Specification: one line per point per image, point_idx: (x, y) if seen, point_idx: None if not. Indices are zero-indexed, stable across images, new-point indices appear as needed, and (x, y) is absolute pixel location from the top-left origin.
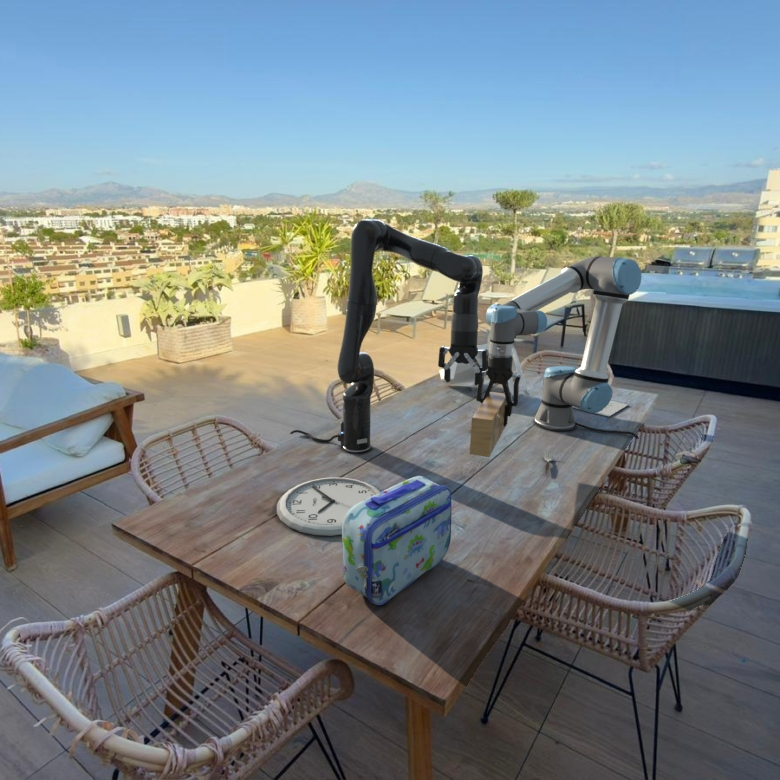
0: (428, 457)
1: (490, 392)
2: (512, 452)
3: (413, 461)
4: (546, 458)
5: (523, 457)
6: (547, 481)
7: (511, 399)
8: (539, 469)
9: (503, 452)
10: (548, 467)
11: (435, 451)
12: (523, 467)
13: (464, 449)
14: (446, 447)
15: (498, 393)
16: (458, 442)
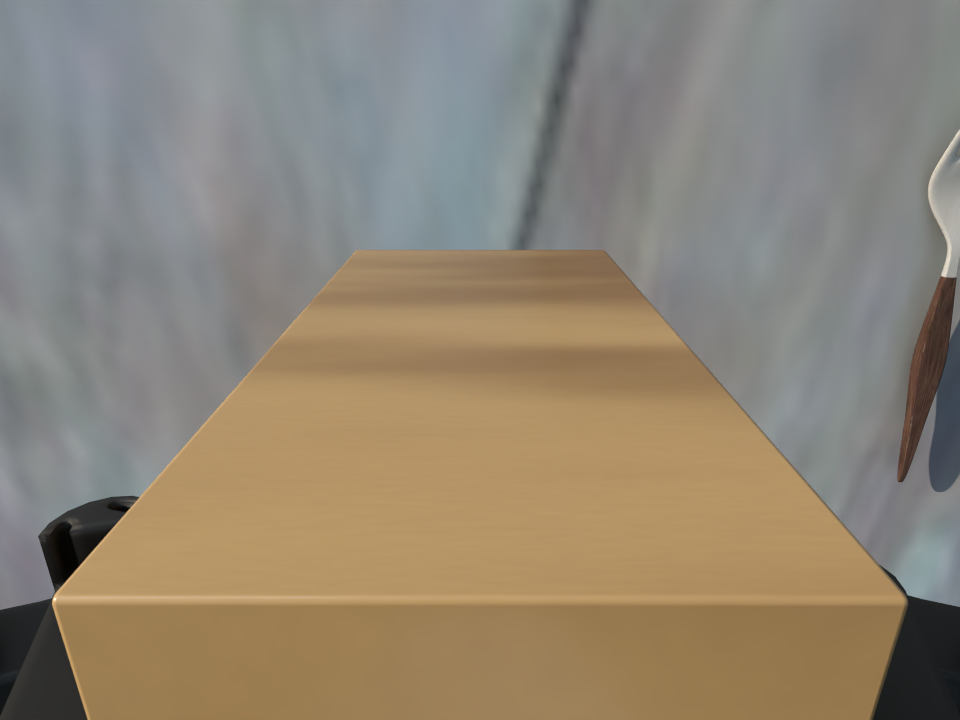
0: (53, 505)
1: (93, 681)
2: (638, 142)
3: (5, 592)
4: (947, 185)
5: (738, 215)
6: (891, 537)
7: (943, 695)
8: (856, 389)
9: (558, 178)
10: (937, 387)
11: (37, 391)
12: (737, 402)
13: (224, 257)
14: (70, 280)
15: (461, 691)
16: (106, 116)
